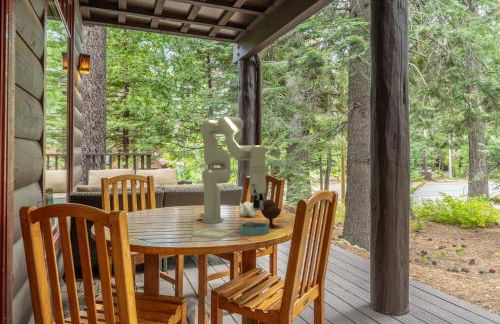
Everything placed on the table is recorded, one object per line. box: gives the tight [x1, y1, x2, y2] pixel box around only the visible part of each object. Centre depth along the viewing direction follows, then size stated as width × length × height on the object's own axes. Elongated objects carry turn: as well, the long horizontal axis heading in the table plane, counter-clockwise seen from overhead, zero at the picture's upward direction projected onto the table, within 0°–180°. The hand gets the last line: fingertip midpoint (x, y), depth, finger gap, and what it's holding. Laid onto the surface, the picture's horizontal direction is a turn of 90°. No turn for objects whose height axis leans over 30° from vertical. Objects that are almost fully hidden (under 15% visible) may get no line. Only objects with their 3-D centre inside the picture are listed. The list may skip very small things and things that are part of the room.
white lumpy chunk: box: [239, 201, 259, 218], centre depth 228 cm, size 11×12×9 cm
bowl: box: [238, 221, 270, 237], centre depth 178 cm, size 14×14×4 cm
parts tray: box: [192, 227, 237, 240], centre depth 174 cm, size 16×14×2 cm
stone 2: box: [254, 200, 264, 211], centre depth 177 cm, size 4×4×4 cm
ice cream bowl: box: [260, 199, 282, 229], centre depth 193 cm, size 11×11×15 cm
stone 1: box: [244, 220, 255, 228], centre depth 179 cm, size 4×4×4 cm
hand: (258, 206), depth 177 cm, fingers closed on stone 2, 4 cm apart
